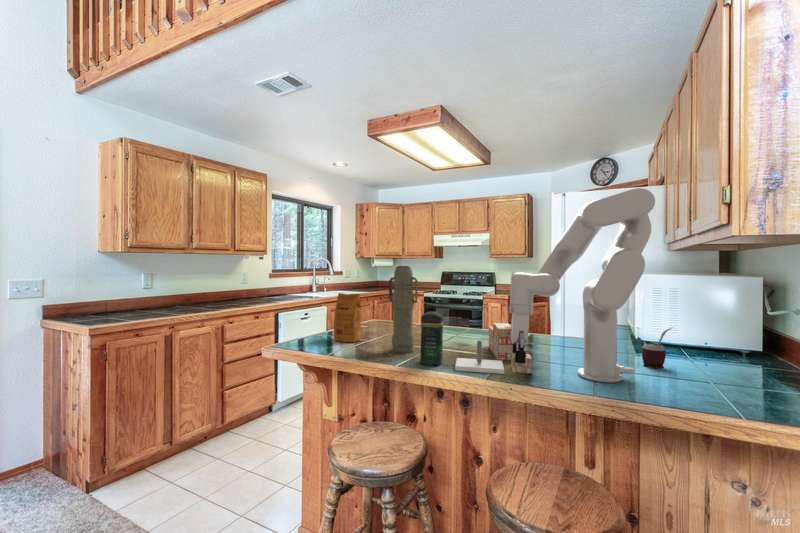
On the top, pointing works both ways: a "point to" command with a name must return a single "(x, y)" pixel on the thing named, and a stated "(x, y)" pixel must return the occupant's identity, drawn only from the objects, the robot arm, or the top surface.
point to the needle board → (479, 363)
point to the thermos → (403, 309)
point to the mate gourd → (654, 354)
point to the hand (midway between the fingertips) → (518, 359)
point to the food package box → (501, 341)
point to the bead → (522, 365)
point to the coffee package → (347, 318)
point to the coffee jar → (431, 338)
